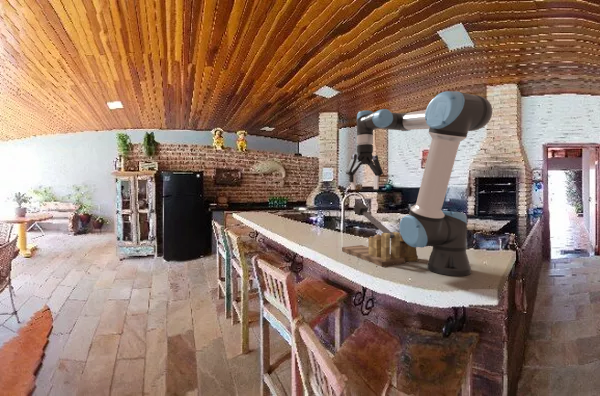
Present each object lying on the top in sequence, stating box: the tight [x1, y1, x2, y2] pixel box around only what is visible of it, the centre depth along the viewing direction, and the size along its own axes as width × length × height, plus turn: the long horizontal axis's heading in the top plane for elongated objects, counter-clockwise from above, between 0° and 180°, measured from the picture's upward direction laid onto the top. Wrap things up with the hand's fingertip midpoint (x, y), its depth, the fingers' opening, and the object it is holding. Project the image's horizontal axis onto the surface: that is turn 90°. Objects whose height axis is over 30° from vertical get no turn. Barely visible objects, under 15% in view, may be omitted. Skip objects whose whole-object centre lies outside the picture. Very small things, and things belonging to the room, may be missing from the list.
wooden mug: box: [399, 234, 419, 263], centre depth 134 cm, size 9×14×18 cm, turn 129°
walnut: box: [373, 234, 381, 239], centre depth 133 cm, size 4×4×4 cm
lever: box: [352, 202, 394, 239], centre depth 135 cm, size 26×4×4 cm, turn 25°
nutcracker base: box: [341, 231, 406, 267], centre depth 138 cm, size 30×12×13 cm, turn 24°
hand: (364, 189), depth 143 cm, fingers open, 13 cm apart
